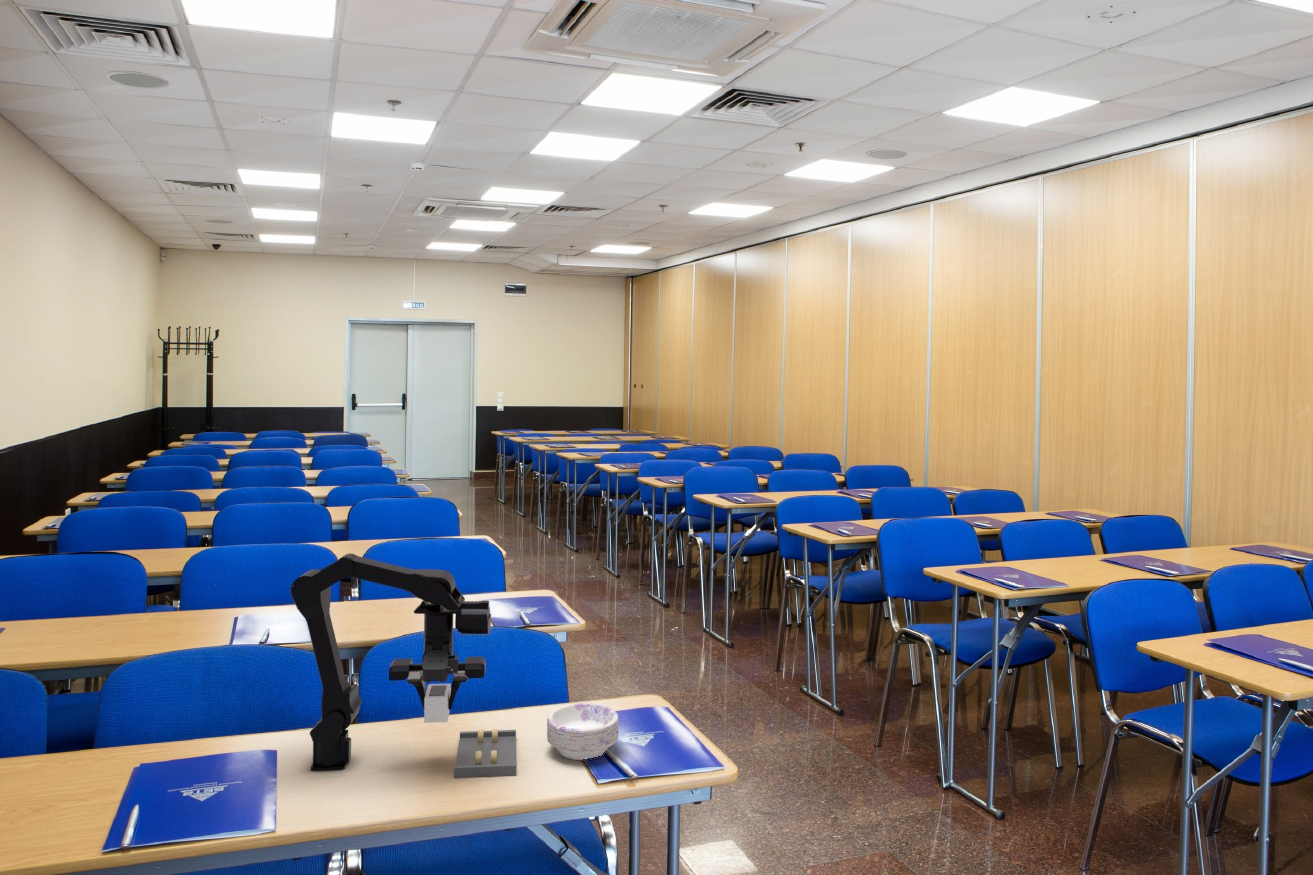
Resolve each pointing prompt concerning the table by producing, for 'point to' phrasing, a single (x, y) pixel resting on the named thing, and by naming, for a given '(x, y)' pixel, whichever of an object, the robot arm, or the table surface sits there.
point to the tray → (486, 754)
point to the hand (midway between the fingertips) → (437, 709)
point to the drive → (437, 703)
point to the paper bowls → (582, 730)
